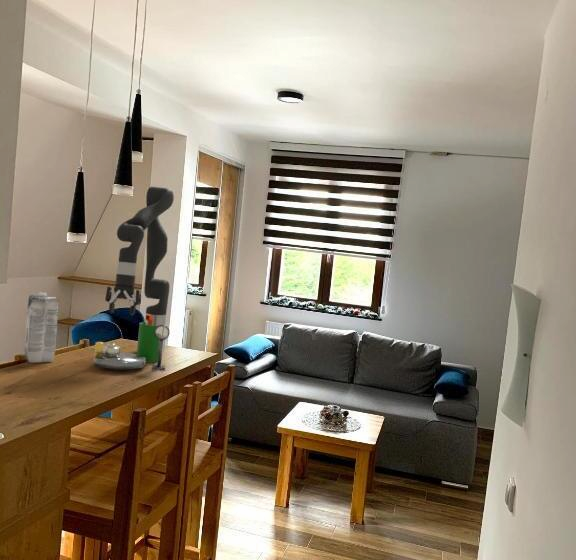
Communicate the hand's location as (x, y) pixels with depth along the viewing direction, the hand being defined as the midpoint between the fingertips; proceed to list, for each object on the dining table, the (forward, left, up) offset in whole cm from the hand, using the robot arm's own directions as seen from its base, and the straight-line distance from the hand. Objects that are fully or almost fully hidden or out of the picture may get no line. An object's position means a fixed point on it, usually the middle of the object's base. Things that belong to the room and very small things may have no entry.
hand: (121, 313), depth 252 cm
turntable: (+2, +3, -19) cm, 20 cm away
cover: (+2, -2, -17) cm, 17 cm away
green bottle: (-18, +1, -21) cm, 28 cm away
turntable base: (+2, +3, -21) cm, 21 cm away
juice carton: (+18, -24, -21) cm, 37 cm away
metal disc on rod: (-9, +14, -21) cm, 27 cm away
